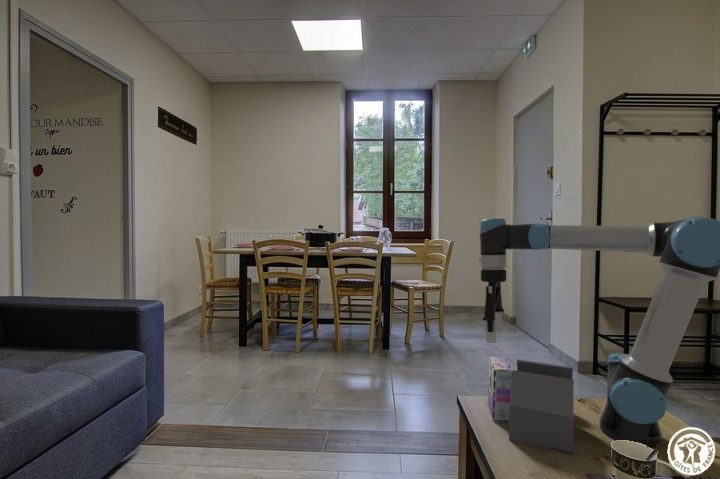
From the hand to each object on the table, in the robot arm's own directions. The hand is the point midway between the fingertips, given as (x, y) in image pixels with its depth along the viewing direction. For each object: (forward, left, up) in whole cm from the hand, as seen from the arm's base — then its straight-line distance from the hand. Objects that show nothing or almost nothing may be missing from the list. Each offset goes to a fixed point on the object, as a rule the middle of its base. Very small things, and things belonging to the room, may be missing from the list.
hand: (494, 337), depth 123 cm
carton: (-14, -1, -26) cm, 30 cm away
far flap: (-14, -8, -12) cm, 20 cm away
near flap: (-14, +7, -12) cm, 20 cm away
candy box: (-1, -8, -27) cm, 28 cm away
